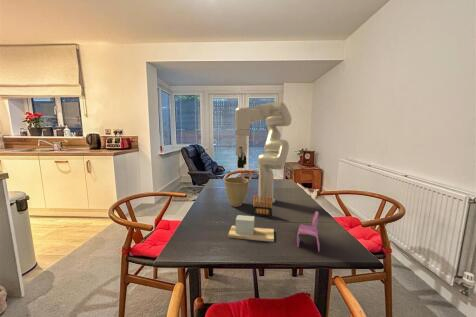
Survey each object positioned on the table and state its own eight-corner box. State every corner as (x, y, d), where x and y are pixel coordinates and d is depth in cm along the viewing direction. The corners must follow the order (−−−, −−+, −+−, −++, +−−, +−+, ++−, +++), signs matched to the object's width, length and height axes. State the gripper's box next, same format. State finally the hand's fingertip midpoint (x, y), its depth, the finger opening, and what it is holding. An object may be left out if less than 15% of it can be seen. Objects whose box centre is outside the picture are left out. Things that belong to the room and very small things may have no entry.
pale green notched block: (237, 228, 98) (237, 215, 97) (254, 229, 97) (254, 216, 96) (235, 233, 94) (235, 219, 93) (253, 234, 92) (253, 220, 92)
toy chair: (298, 238, 92) (299, 206, 90) (319, 242, 89) (321, 209, 86) (296, 248, 84) (297, 213, 82) (319, 253, 81) (321, 217, 79)
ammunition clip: (252, 214, 116) (253, 194, 114) (253, 213, 118) (253, 193, 116) (272, 216, 114) (272, 195, 112) (272, 215, 116) (272, 194, 114)
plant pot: (238, 211, 121) (238, 184, 119) (219, 205, 130) (219, 180, 127) (252, 203, 133) (253, 179, 130) (234, 198, 142) (234, 176, 139)
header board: (231, 227, 101) (231, 217, 100) (273, 231, 98) (274, 220, 97) (228, 237, 92) (228, 226, 92) (273, 241, 89) (274, 230, 88)
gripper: (237, 132, 115) (237, 163, 118) (231, 133, 98) (231, 169, 101) (251, 132, 114) (250, 163, 116) (247, 133, 97) (247, 169, 99)
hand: (242, 166), depth 109 cm, fingers open, 9 cm apart
